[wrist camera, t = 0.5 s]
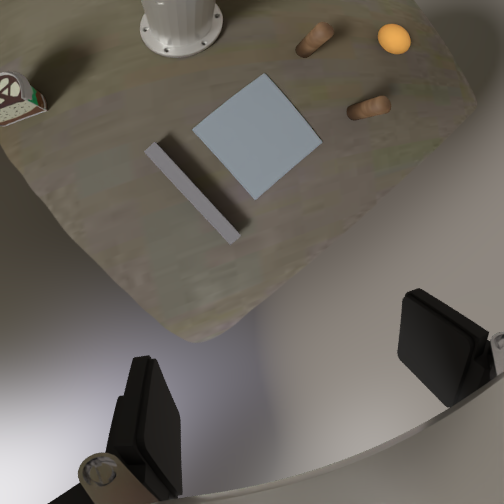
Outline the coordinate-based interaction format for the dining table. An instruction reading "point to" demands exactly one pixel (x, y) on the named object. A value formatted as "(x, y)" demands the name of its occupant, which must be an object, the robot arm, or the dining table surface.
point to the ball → (394, 39)
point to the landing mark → (258, 135)
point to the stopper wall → (192, 193)
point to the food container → (18, 99)
